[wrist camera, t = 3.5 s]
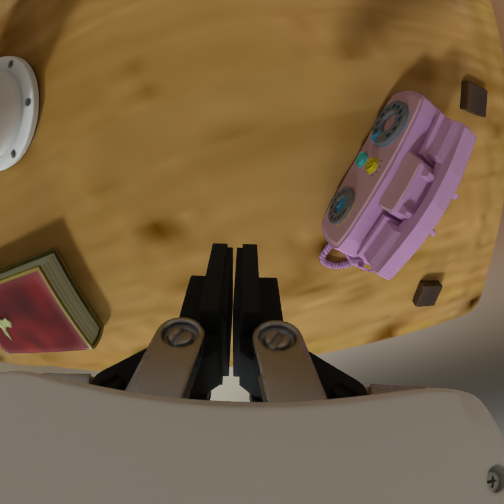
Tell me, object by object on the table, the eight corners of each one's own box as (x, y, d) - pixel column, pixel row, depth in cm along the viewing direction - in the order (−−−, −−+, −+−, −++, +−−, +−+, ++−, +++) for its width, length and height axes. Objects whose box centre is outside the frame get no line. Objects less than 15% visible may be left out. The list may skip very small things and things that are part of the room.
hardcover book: (105, 329, 32) (93, 353, 29) (17, 339, 34) (6, 356, 31) (56, 247, 26) (36, 268, 23) (-22, 280, 28) (-37, 296, 25)
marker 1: (412, 301, 31) (416, 307, 30) (419, 280, 30) (424, 286, 29) (430, 299, 32) (434, 305, 30) (438, 280, 30) (442, 285, 29)
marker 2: (459, 108, 20) (467, 109, 19) (461, 81, 19) (468, 81, 18) (478, 115, 20) (485, 117, 19) (480, 90, 19) (487, 91, 18)
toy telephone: (386, 85, 20) (458, 87, 11) (435, 125, 21) (509, 149, 13) (292, 251, 28) (313, 324, 19) (345, 273, 29) (379, 344, 20)
